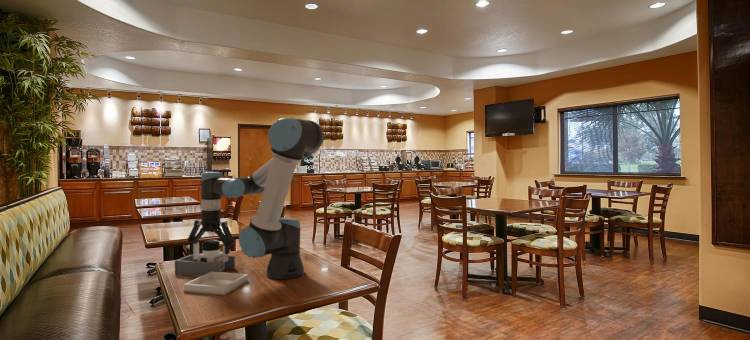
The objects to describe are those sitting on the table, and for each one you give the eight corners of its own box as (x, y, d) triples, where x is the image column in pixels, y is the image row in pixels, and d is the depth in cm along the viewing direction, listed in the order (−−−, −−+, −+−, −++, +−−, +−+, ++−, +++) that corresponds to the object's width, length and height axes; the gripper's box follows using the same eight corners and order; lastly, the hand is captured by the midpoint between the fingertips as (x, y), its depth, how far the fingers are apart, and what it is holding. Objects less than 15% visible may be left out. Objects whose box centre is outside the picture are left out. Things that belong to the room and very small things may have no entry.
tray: (248, 281, 153) (248, 274, 153) (224, 295, 137) (224, 287, 137) (211, 277, 156) (211, 271, 156) (183, 291, 140) (183, 284, 140)
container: (214, 275, 160) (214, 243, 159) (197, 273, 161) (196, 242, 161) (224, 269, 167) (224, 239, 167) (208, 268, 169) (208, 238, 168)
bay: (235, 268, 169) (235, 255, 169) (217, 277, 156) (217, 263, 156) (195, 265, 173) (195, 252, 173) (175, 274, 160) (174, 260, 160)
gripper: (243, 209, 164) (242, 260, 165) (190, 206, 169) (190, 255, 170) (233, 212, 157) (232, 264, 158) (178, 208, 162) (178, 259, 163)
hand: (210, 260), depth 164 cm, fingers open, 13 cm apart
